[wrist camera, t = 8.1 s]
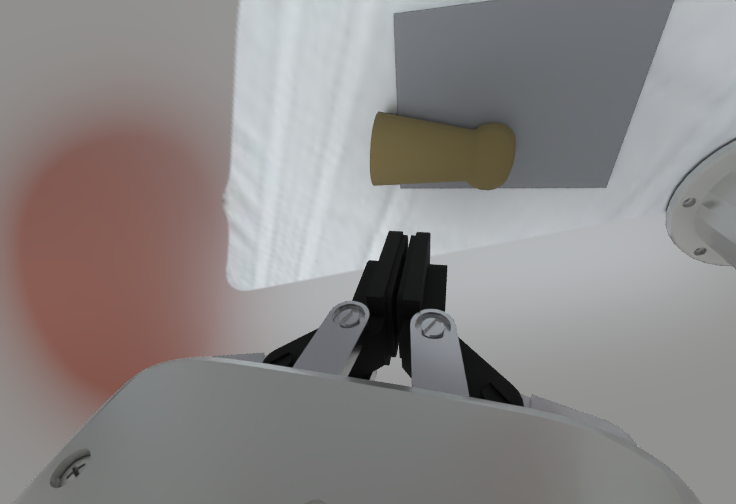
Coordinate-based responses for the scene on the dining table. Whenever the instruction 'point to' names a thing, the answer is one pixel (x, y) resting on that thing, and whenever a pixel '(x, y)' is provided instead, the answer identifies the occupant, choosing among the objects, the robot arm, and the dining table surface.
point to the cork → (439, 152)
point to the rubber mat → (532, 79)
